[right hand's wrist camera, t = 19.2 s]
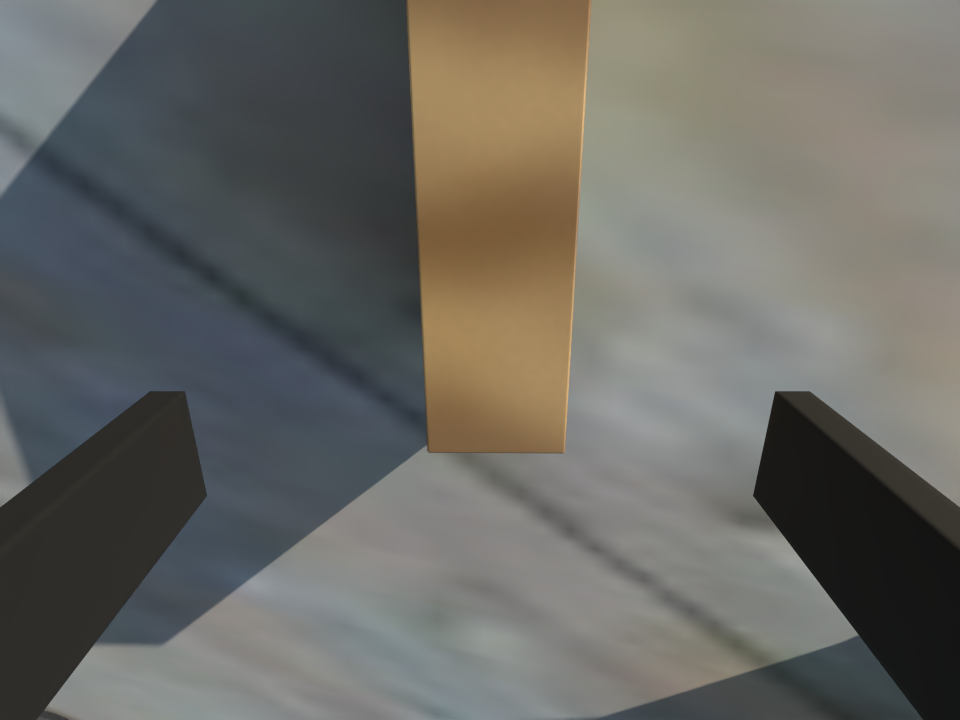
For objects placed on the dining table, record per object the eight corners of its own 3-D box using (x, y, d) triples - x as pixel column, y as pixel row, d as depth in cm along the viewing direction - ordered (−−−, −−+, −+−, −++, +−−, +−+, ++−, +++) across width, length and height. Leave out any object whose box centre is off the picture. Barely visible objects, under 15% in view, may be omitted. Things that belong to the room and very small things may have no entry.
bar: (543, 357, 27) (564, 454, 19) (446, 357, 27) (427, 453, 19) (570, -342, 18) (634, -721, 10) (424, -339, 18) (371, -712, 10)
